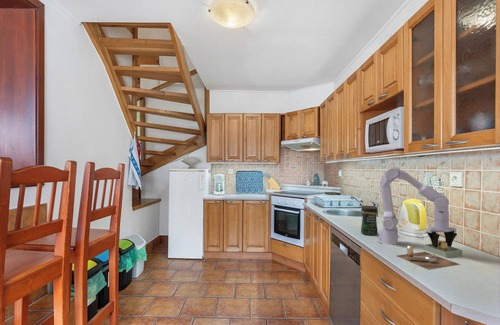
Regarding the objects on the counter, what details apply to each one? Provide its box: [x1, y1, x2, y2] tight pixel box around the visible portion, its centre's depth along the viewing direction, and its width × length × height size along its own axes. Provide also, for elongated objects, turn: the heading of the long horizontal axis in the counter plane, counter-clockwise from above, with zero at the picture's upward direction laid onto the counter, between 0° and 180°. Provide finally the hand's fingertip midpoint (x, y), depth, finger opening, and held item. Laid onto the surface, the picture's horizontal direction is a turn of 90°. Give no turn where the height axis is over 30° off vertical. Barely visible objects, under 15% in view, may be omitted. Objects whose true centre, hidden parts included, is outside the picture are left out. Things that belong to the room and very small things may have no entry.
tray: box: [422, 243, 463, 259], centre depth 119 cm, size 11×11×4 cm
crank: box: [406, 245, 436, 263], centre depth 109 cm, size 11×4×6 cm, turn 76°
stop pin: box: [436, 239, 447, 252], centre depth 119 cm, size 4×4×6 cm
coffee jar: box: [360, 205, 379, 236], centre depth 155 cm, size 10×8×19 cm
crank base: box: [396, 251, 461, 271], centre depth 110 cm, size 16×20×1 cm
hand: (441, 246), depth 119 cm, fingers open, 7 cm apart
